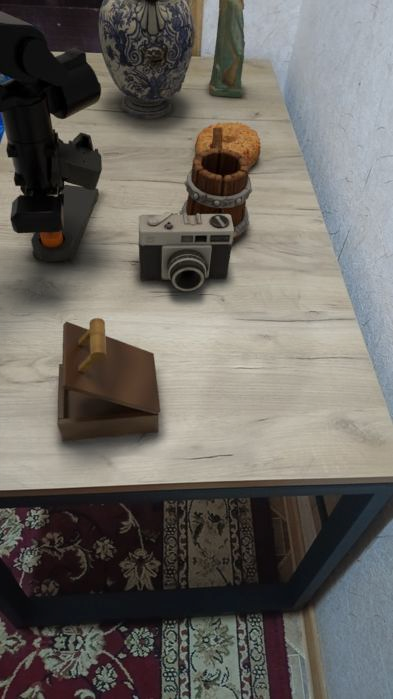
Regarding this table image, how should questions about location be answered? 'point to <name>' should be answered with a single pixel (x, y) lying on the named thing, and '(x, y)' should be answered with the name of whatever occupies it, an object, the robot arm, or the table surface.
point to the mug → (219, 184)
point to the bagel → (232, 140)
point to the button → (51, 239)
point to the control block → (68, 224)
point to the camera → (185, 248)
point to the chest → (99, 417)
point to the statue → (228, 50)
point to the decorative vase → (147, 51)
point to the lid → (108, 368)
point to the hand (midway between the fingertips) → (50, 230)
